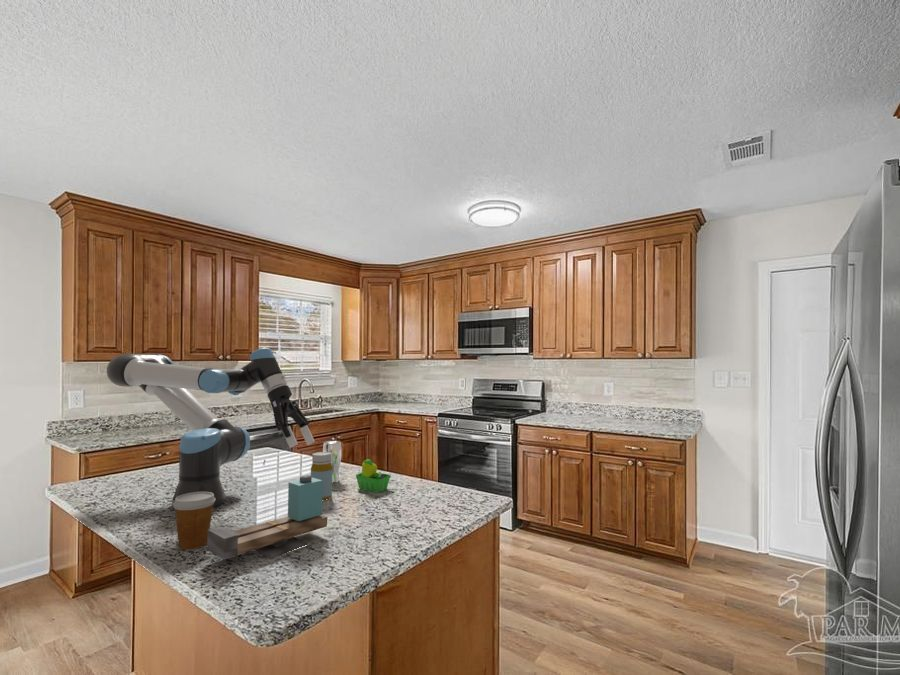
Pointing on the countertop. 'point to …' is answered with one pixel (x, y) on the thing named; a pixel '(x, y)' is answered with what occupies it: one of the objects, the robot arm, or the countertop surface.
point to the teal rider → (304, 498)
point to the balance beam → (263, 537)
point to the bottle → (323, 472)
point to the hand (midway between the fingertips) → (302, 444)
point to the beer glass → (334, 457)
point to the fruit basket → (372, 478)
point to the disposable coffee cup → (193, 518)
